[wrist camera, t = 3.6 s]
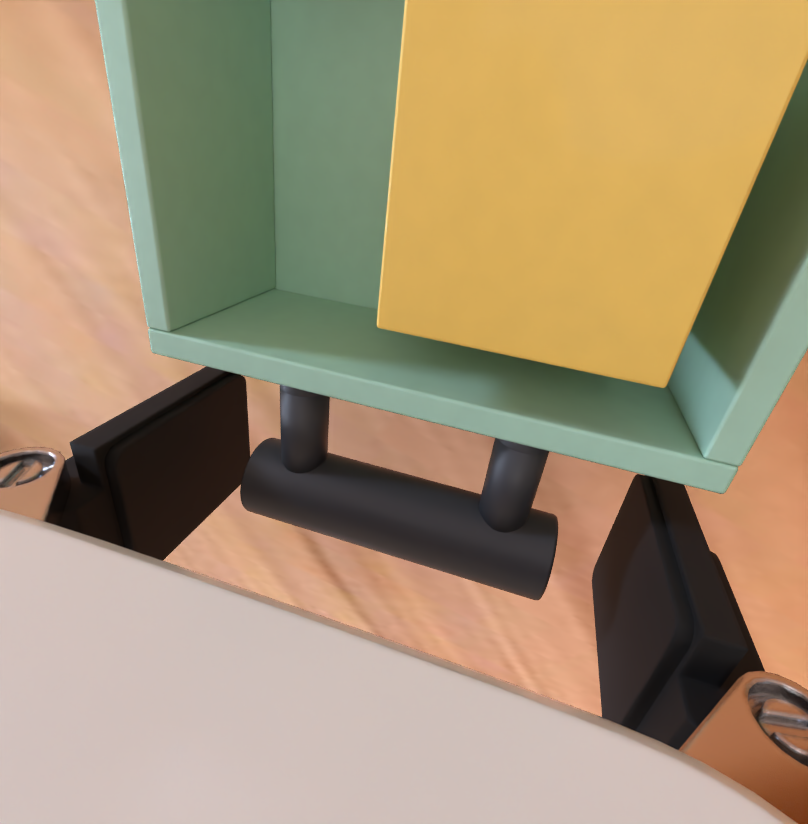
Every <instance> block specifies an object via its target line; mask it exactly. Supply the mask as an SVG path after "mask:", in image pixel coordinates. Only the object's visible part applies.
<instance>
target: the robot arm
mask: <svg viewBox="0 0 808 824" xmlns="http://www.w3.org/2000/svg"><path fill="white" fill-rule="evenodd" d="M70 446H71V449H72V453H73V456H72V457H71V458H69V459H67V460H65V458H64V456H63V455H62V454H61V453H60V452H59V451H57V450H54V449H51V448H45V447H27V448H21V449H14V450H11V451H7V452H4V453H0V824H808V690H807V689H805V688H803V687H802V686H800V685H799V684H797V683H795V682H793V681H791V680H789V679H787V678H784V677H782V676H780V675H777V674H773V673H768V672H765V670H764V668H763V665H762V663H761V660H760V658H759V655H758V653H757V651H756V648H755V646H754V643H753V641H752V638H751V636H750V633H749V631H748V629H747V626H746V624H745V621H744V619H743V616H742V614H741V611H740V609H739V607H738V604H737V602H736V599H735V597H734V594H733V592H732V589H731V587H730V584H729V582H728V580H727V577H726V575H725V572H724V570H723V567H722V565H721V562H720V560H719V559H718V557H717V555H716V554H714V553H713V552H711V551H710V550H709V547H708V545H707V542H706V540H705V537H704V535H703V532H702V530H701V527H700V524H699V522H698V519H697V517H696V514H695V512H694V509H693V507H692V504H691V502H690V499H689V496H688V494H687V491H686V489H685V486H684V484H680V483H676V482H671V481H667V480H663V479H659V478H655V477H651V476H647V475H645V476H644V475H640V474H637V475H636V476H635V477H634V479H633V481H632V483H631V485H630V488H629V490H628V492H627V495H626V497H625V499H624V501H623V504H622V506H621V508H620V510H619V513H618V515H617V517H616V520H615V522H614V524H613V526H612V529H611V531H610V533H609V535H608V538H607V540H606V542H605V545H604V547H603V549H602V551H601V554H600V556H599V558H598V560H597V563H596V565H595V568H594V571H593V577H592V588H593V601H594V614H595V627H596V640H597V653H598V666H599V679H600V692H601V705H602V717H600V716H597V715H594V714H592V713H589V712H586V711H584V710H581V709H578V708H576V707H573V706H570V705H568V704H565V703H562V702H560V701H557V700H554V699H552V698H549V697H546V696H544V695H541V694H538V693H536V692H533V691H530V690H527V689H525V688H522V687H519V686H517V685H514V684H511V683H509V682H506V681H503V680H501V679H498V678H495V677H492V676H489V675H486V674H484V673H481V672H478V671H475V670H472V669H470V668H467V667H464V666H461V665H458V664H456V663H453V662H450V661H447V660H444V659H442V658H439V657H436V656H433V655H430V654H427V653H425V652H422V651H419V650H416V649H413V648H411V647H408V646H405V645H402V644H399V643H397V642H394V641H391V640H388V639H385V638H383V637H380V636H377V635H374V634H371V633H369V632H366V631H363V630H360V629H357V628H354V627H351V626H349V625H346V624H343V623H340V622H337V621H334V620H332V619H329V618H326V617H323V616H320V615H317V614H314V613H312V612H309V611H306V610H303V609H300V608H297V607H294V606H292V605H289V604H286V603H283V602H280V601H277V600H274V599H272V598H269V597H266V596H263V595H260V594H257V593H254V592H251V591H249V590H246V589H243V588H240V587H237V586H234V585H231V584H229V583H226V582H223V581H220V580H217V579H214V578H211V577H208V576H205V575H203V574H200V573H197V572H194V571H191V570H188V569H185V568H182V567H179V566H176V565H173V564H170V563H168V562H165V561H163V560H164V559H165V558H166V557H167V556H168V555H169V554H170V553H171V552H172V551H173V550H174V549H175V548H176V547H177V546H178V545H179V544H180V543H181V542H182V541H183V540H184V539H185V538H186V537H187V536H188V535H189V534H190V533H191V532H192V531H193V530H194V529H196V528H197V527H198V526H199V525H200V524H201V523H202V522H203V521H204V520H205V519H206V518H207V517H208V516H209V515H210V514H211V513H212V512H213V511H214V510H215V509H216V508H217V507H218V506H219V505H220V504H221V503H222V502H223V501H224V500H225V499H226V498H227V497H228V496H229V495H230V494H231V493H232V492H233V491H234V490H235V489H236V488H237V487H238V486H239V485H240V484H241V482H242V477H243V474H244V471H245V468H246V465H247V463H248V461H249V459H250V447H249V429H248V411H247V392H246V380H245V378H244V377H243V376H241V375H240V374H236V373H231V372H227V371H223V370H219V369H215V368H211V367H205V368H203V369H201V370H200V371H198V372H196V373H194V374H192V375H191V376H189V377H187V378H185V379H183V380H181V381H180V382H178V383H176V384H174V385H172V386H171V387H169V388H167V389H165V390H163V391H162V392H160V393H158V394H156V395H154V396H153V397H151V398H149V399H147V400H145V401H143V402H142V403H140V404H138V405H136V406H134V407H133V408H131V409H129V410H127V411H125V412H124V413H122V414H120V415H118V416H116V417H115V418H113V419H111V420H109V421H107V422H105V423H104V424H102V425H100V426H98V427H96V428H95V429H93V430H91V431H89V432H87V433H86V434H84V435H82V436H80V437H78V438H77V439H75V440H73V441H71V442H70Z"/></svg>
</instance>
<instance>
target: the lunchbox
mask: <svg viewBox="0 0 808 824" xmlns="http://www.w3.org/2000/svg"><path fill="white" fill-rule="evenodd" d="M95 4H96V10H97V16H98V22H99V29H100V35H101V41H102V47H103V53H104V60H105V66H106V72H107V78H108V84H109V91H110V97H111V103H112V109H113V116H114V122H115V128H116V134H117V140H118V147H119V153H120V159H121V165H122V172H123V178H124V184H125V190H126V196H127V203H128V209H129V215H130V221H131V227H132V234H133V240H134V246H135V252H136V259H137V265H138V271H139V277H140V283H141V290H142V296H143V302H144V308H145V314H146V321H147V325H148V327H150V328H149V330H148V333H149V339H150V346H151V351H152V352H153V353H155V354H159V355H163V356H167V357H171V358H175V359H179V360H183V361H187V362H191V363H195V364H199V365H203V366H207V367H211V368H215V369H219V370H223V371H227V372H231V373H236V374H240V375H244V376H248V377H252V378H256V379H260V380H264V381H268V382H272V383H276V384H280V416H281V440H280V439H276V438H269V439H266V440H264V441H263V442H262V443H260V444H259V445H258V447H257V448H256V449H255V450H254V452H253V453H252V455H251V457H250V459H249V461H248V463H247V465H246V468H245V471H244V474H243V477H242V482H241V491H240V494H241V501H242V504H243V506H244V508H245V509H246V510H248V511H250V512H253V513H256V514H260V515H263V516H266V517H269V518H273V519H276V520H279V521H282V522H285V523H289V524H292V525H295V526H298V527H301V528H305V529H308V530H311V531H314V532H318V533H321V534H324V535H327V536H330V537H334V538H337V539H340V540H343V541H346V542H350V543H353V544H356V545H359V546H363V547H366V548H369V549H372V550H375V551H379V552H382V553H385V554H388V555H391V556H395V557H398V558H401V559H404V560H408V561H411V562H414V563H417V564H420V565H424V566H427V567H430V568H433V569H436V570H440V571H443V572H446V573H449V574H453V575H456V576H459V577H462V578H465V579H469V580H472V581H475V582H478V583H481V584H485V585H488V586H491V587H494V588H498V589H501V590H504V591H507V592H510V593H514V594H517V595H520V596H523V597H526V598H530V599H533V600H539V599H540V598H541V597H542V595H543V594H544V592H545V589H546V587H547V584H548V581H549V578H550V574H551V570H552V566H553V562H554V557H555V552H556V545H557V537H558V520H557V517H556V516H555V515H554V514H551V513H547V512H543V511H540V510H536V509H532V508H531V507H532V504H533V501H534V498H535V494H536V491H537V488H538V485H539V482H540V479H541V476H542V473H543V469H544V466H545V463H546V460H547V457H548V454H549V451H550V452H554V453H558V454H562V455H567V456H571V457H575V458H579V459H583V460H587V461H591V462H595V463H599V464H603V465H607V466H611V467H615V468H619V469H623V470H627V471H631V472H635V473H639V474H643V475H647V476H651V477H655V478H659V479H663V480H667V481H671V482H676V483H680V484H684V485H688V486H692V487H696V488H700V489H704V490H708V491H712V492H716V493H720V494H724V493H725V492H726V490H727V489H728V487H729V485H730V483H731V482H732V480H733V478H734V476H735V475H736V473H737V471H738V466H740V465H741V464H742V463H743V461H744V459H745V458H746V456H747V454H748V452H749V451H750V449H751V447H752V445H753V444H754V442H755V440H756V438H757V437H758V435H759V433H760V431H761V430H762V428H763V426H764V424H765V423H766V421H767V419H768V417H769V416H770V414H771V412H772V410H773V409H774V407H775V405H776V403H777V402H778V400H779V398H780V396H781V395H782V393H783V391H784V389H785V388H786V386H787V384H788V382H789V381H790V379H791V377H792V375H793V374H794V372H795V370H796V368H797V367H798V365H799V363H800V361H801V360H802V358H803V356H804V354H805V353H806V351H807V349H808V60H807V63H806V65H805V67H804V69H803V72H802V74H801V76H800V79H799V81H798V83H797V86H796V88H795V90H794V93H793V95H792V97H791V100H790V102H789V104H788V106H787V109H786V111H785V113H784V116H783V118H782V120H781V123H780V125H779V127H778V130H777V132H776V134H775V137H774V139H773V141H772V143H771V146H770V148H769V150H768V153H767V155H766V157H765V160H764V162H763V164H762V167H761V169H760V171H759V174H758V176H757V178H756V180H755V183H754V185H753V187H752V190H751V192H750V194H749V197H748V199H747V201H746V204H745V206H744V208H743V211H742V213H741V215H740V218H739V220H738V222H737V224H736V227H735V229H734V231H733V234H732V236H731V238H730V241H729V243H728V245H727V248H726V250H725V252H724V255H723V257H722V259H721V261H720V264H719V266H718V268H717V271H716V273H715V275H714V278H713V280H712V282H711V285H710V287H709V289H708V292H707V294H706V296H705V298H704V301H703V303H702V305H701V308H700V310H699V312H698V315H697V317H696V319H695V322H694V324H693V326H692V329H691V331H690V333H689V335H688V338H687V340H686V342H685V345H684V347H683V349H682V352H681V354H680V356H679V359H678V361H677V363H676V366H675V368H674V370H673V372H672V375H671V377H670V379H669V382H668V384H667V386H666V387H665V388H659V387H654V386H650V385H645V384H640V383H636V382H631V381H626V380H621V379H617V378H612V377H607V376H603V375H598V374H593V373H588V372H584V371H579V370H574V369H569V368H565V367H560V366H555V365H551V364H546V363H541V362H536V361H532V360H527V359H522V358H518V357H513V356H508V355H503V354H499V353H494V352H489V351H484V350H480V349H475V348H470V347H466V346H461V345H456V344H451V343H447V342H442V341H437V340H433V339H428V338H423V337H418V336H414V335H409V334H404V333H399V332H395V331H390V330H385V329H381V328H378V327H377V312H378V301H379V290H380V278H381V267H382V256H383V244H384V233H385V222H386V210H387V199H388V188H389V176H390V165H391V154H392V142H393V131H394V120H395V108H396V97H397V86H398V74H399V63H400V52H401V40H402V29H403V17H404V6H405V0H95ZM330 397H332V398H336V399H340V400H345V401H349V402H353V403H357V404H361V405H365V406H369V407H373V408H377V409H381V410H385V411H389V412H393V413H397V414H401V415H405V416H409V417H413V418H417V419H421V420H425V421H429V422H433V423H437V424H441V425H445V426H449V427H454V428H458V429H462V430H466V431H470V432H474V433H478V434H482V435H486V436H490V437H494V438H495V442H494V446H493V450H492V454H491V458H490V462H489V466H488V470H487V474H486V478H485V482H484V486H483V490H482V494H477V493H474V492H470V491H466V490H463V489H459V488H455V487H452V486H448V485H444V484H441V483H437V482H434V481H430V480H426V479H423V478H419V477H415V476H412V475H408V474H404V473H401V472H397V471H393V470H390V469H386V468H382V467H379V466H375V465H371V464H368V463H364V462H360V461H357V460H353V459H349V458H346V457H342V456H338V455H335V454H331V453H327V450H328V425H329V401H330Z"/></svg>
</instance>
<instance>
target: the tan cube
mask: <svg viewBox="0 0 808 824" xmlns="http://www.w3.org/2000/svg"><path fill="white" fill-rule="evenodd" d="M807 60H808V0H405V6H404V17H403V29H402V40H401V52H400V63H399V74H398V86H397V97H396V108H395V120H394V131H393V142H392V154H391V165H390V176H389V188H388V199H387V210H386V222H385V233H384V244H383V256H382V267H381V278H380V290H379V301H378V312H377V327H378V328H381V329H385V330H390V331H395V332H399V333H404V334H409V335H414V336H418V337H423V338H428V339H433V340H437V341H442V342H447V343H451V344H456V345H461V346H466V347H470V348H475V349H480V350H484V351H489V352H494V353H499V354H503V355H508V356H513V357H518V358H522V359H527V360H532V361H536V362H541V363H546V364H551V365H555V366H560V367H565V368H569V369H574V370H579V371H584V372H588V373H593V374H598V375H603V376H607V377H612V378H617V379H621V380H626V381H631V382H636V383H640V384H645V385H650V386H654V387H659V388H665V387H666V386H667V384H668V382H669V379H670V377H671V375H672V372H673V370H674V368H675V366H676V363H677V361H678V359H679V356H680V354H681V352H682V349H683V347H684V345H685V342H686V340H687V338H688V335H689V333H690V331H691V329H692V326H693V324H694V322H695V319H696V317H697V315H698V312H699V310H700V308H701V305H702V303H703V301H704V298H705V296H706V294H707V292H708V289H709V287H710V285H711V282H712V280H713V278H714V275H715V273H716V271H717V268H718V266H719V264H720V261H721V259H722V257H723V255H724V252H725V250H726V248H727V245H728V243H729V241H730V238H731V236H732V234H733V231H734V229H735V227H736V224H737V222H738V220H739V218H740V215H741V213H742V211H743V208H744V206H745V204H746V201H747V199H748V197H749V194H750V192H751V190H752V187H753V185H754V183H755V180H756V178H757V176H758V174H759V171H760V169H761V167H762V164H763V162H764V160H765V157H766V155H767V153H768V150H769V148H770V146H771V143H772V141H773V139H774V137H775V134H776V132H777V130H778V127H779V125H780V123H781V120H782V118H783V116H784V113H785V111H786V109H787V106H788V104H789V102H790V100H791V97H792V95H793V93H794V90H795V88H796V86H797V83H798V81H799V79H800V76H801V74H802V72H803V69H804V67H805V65H806V63H807Z"/></svg>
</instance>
